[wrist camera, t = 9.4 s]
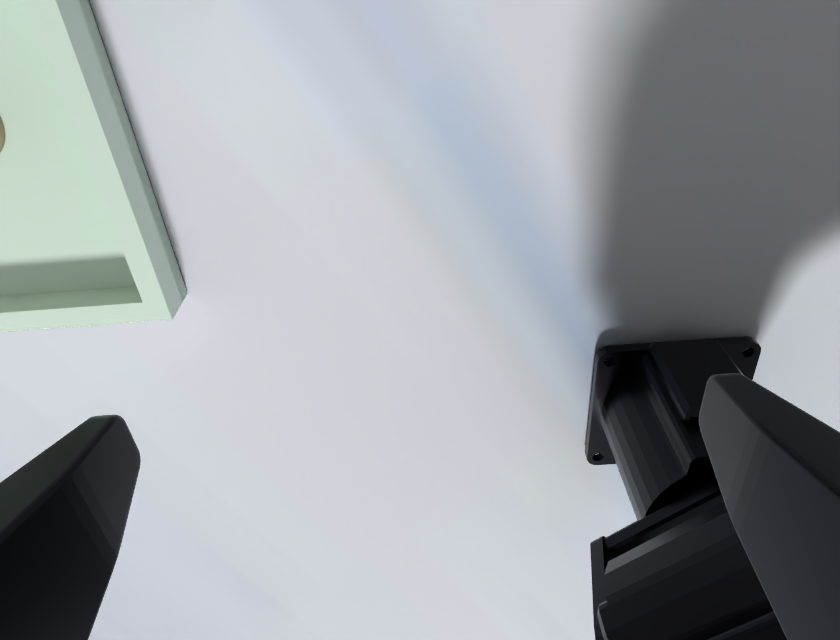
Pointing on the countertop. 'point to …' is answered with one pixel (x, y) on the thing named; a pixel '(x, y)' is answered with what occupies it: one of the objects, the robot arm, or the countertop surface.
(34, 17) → the tray
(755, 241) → the countertop surface
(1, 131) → the dowel
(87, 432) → the robot arm
